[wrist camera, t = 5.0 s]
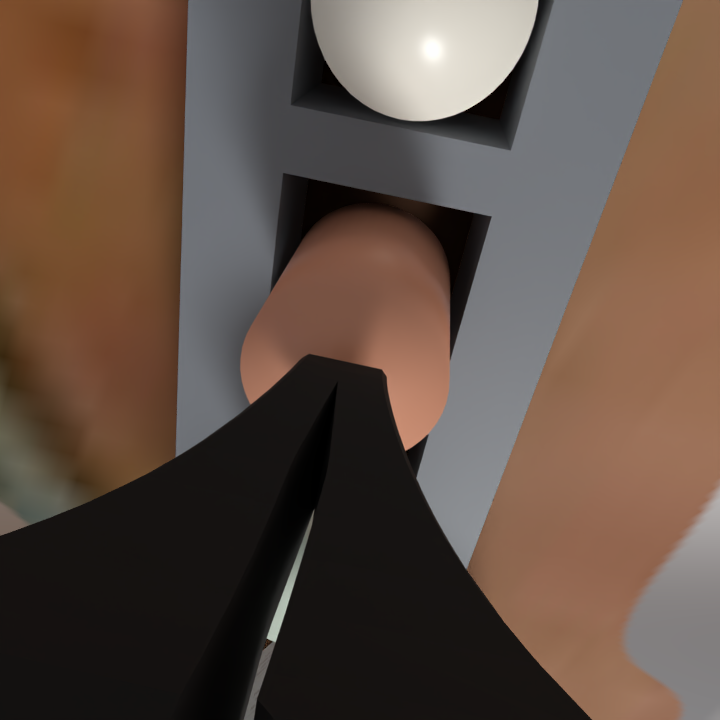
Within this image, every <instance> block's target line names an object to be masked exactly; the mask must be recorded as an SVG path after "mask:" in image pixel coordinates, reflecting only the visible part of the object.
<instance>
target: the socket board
mask: <svg viewBox="0 0 720 720" xmlns="http://www.w3.org/2000/svg"><path fill="white" fill-rule="evenodd" d="M682 1H683V0H538V8H537V13H536V17H535V22H534V26H533V28H532V31H531V34H530V37H529V40H528V42H527V44H526V47H525V49H524V51H523V53H522V55H521V57H520V58H519V60H518V62H517V63H516V65H515V66H514V69H513V72H512V76H511V80H510V83H509V87H508V91H507V94H506V98H505V102H504V105H503V109H502V113H501V116H500V120H499V119H494V118H489V117H484V116H479V115H474V114H469V113H465V112H460V113H458V114H456V115H453V116H449V117H446V118H442V119H437V120H430V121H409V120H401V119H397V118H393V117H390V116H386V115H384V114H382V113H379V112H377V111H375V110H373V109H371V108H369V107H368V106H366V105H364V104H363V103H361V102H360V101H359V100H358V99H356V98H355V97H354V96H353V95H351V94H350V93H349V92H348V91H347V90H346V89H345V88H343V87H338V86H333V85H328V84H324V83H321V82H322V74H323V66H324V56H323V54H322V51H321V49H320V47H319V44H318V41H317V37H316V34H315V31H314V26H313V20H312V14H311V0H188V29H187V65H186V102H185V138H184V174H183V210H182V246H181V282H180V318H179V355H178V391H177V427H176V457H177V456H179V455H181V454H182V453H184V452H185V451H187V450H189V449H190V448H192V447H193V446H195V445H196V444H198V443H199V442H201V441H202V440H204V439H205V438H207V437H208V436H209V435H211V434H212V433H214V432H215V431H216V430H218V429H219V428H221V427H222V426H223V425H225V424H226V423H228V422H229V421H230V420H232V419H233V418H235V417H236V416H237V415H238V414H240V413H241V412H242V411H244V410H245V409H246V408H247V407H248V406H250V405H251V404H250V403H249V400H248V398H247V396H246V393H245V390H244V387H243V383H242V378H241V371H240V358H241V352H242V346H243V343H244V340H245V337H246V335H247V333H248V331H249V329H250V327H251V325H252V323H253V322H254V320H255V318H256V317H257V315H258V313H259V312H260V310H261V308H262V307H263V305H264V303H265V302H266V300H267V298H268V297H269V295H270V293H271V292H272V290H273V288H274V287H275V285H276V283H277V282H278V280H279V278H280V276H281V275H282V273H283V271H284V270H285V268H286V266H287V265H288V263H289V261H290V260H291V258H292V256H293V255H294V253H295V251H296V250H297V248H298V246H299V245H300V243H301V235H302V228H303V220H304V212H305V205H306V197H307V189H308V182H309V178H310V179H315V180H320V181H324V182H329V183H334V184H339V185H343V186H348V187H353V188H358V189H363V190H367V191H372V192H377V193H382V194H387V195H391V196H396V197H401V198H406V199H411V200H415V201H420V202H425V203H430V204H434V205H439V206H444V207H449V208H454V209H458V210H463V211H468V212H473V213H474V215H473V219H472V223H471V226H470V230H469V234H468V237H467V241H466V245H465V248H464V252H463V256H462V259H461V263H460V267H459V270H458V274H457V278H456V281H455V285H454V289H453V292H452V296H451V300H450V381H449V393H448V398H447V402H446V405H445V408H444V410H443V413H442V415H441V417H440V418H439V420H438V422H437V423H436V425H435V426H434V427H433V429H432V430H431V431H430V432H429V433H428V434H427V435H426V436H425V437H424V438H423V439H422V440H421V441H420V442H418V443H417V444H416V445H414V446H413V447H411V448H410V450H409V454H408V459H409V462H410V464H411V467H412V469H413V472H414V474H415V476H416V478H417V481H418V483H419V485H420V487H421V490H422V492H423V494H424V496H425V498H426V500H427V502H428V504H429V506H430V508H431V510H432V512H433V514H434V516H435V518H436V520H437V521H438V523H439V525H440V527H441V528H442V530H443V532H444V534H445V536H446V537H447V539H448V541H449V543H450V544H451V546H452V547H453V549H454V551H455V552H456V554H457V555H458V557H459V559H460V560H461V562H462V563H463V565H464V567H465V568H466V569H467V567H468V564H469V562H470V559H471V556H472V554H473V551H474V548H475V546H476V543H477V541H478V538H479V535H480V533H481V530H482V527H483V525H484V522H485V519H486V517H487V514H488V512H489V509H490V506H491V504H492V501H493V498H494V496H495V493H496V491H497V488H498V485H499V483H500V480H501V477H502V475H503V472H504V470H505V467H506V464H507V462H508V459H509V456H510V454H511V451H512V448H513V446H514V443H515V441H516V438H517V435H518V433H519V430H520V427H521V425H522V422H523V420H524V417H525V414H526V412H527V409H528V406H529V404H530V401H531V399H532V396H533V393H534V391H535V388H536V385H537V383H538V380H539V377H540V375H541V372H542V370H543V367H544V364H545V362H546V359H547V356H548V354H549V351H550V349H551V346H552V343H553V341H554V338H555V335H556V333H557V330H558V328H559V325H560V322H561V320H562V317H563V314H564V312H565V309H566V306H567V304H568V301H569V299H570V296H571V293H572V291H573V288H574V285H575V283H576V280H577V278H578V275H579V272H580V270H581V267H582V264H583V262H584V259H585V257H586V254H587V251H588V249H589V246H590V243H591V241H592V238H593V235H594V233H595V230H596V228H597V225H598V222H599V220H600V217H601V214H602V212H603V209H604V207H605V204H606V201H607V199H608V196H609V193H610V191H611V188H612V186H613V183H614V180H615V178H616V175H617V172H618V170H619V167H620V164H621V162H622V159H623V157H624V154H625V151H626V149H627V146H628V143H629V141H630V138H631V136H632V133H633V130H634V128H635V125H636V122H637V120H638V117H639V115H640V112H641V109H642V107H643V104H644V101H645V99H646V96H647V93H648V91H649V88H650V86H651V83H652V80H653V78H654V75H655V72H656V70H657V67H658V65H659V62H660V59H661V57H662V54H663V51H664V49H665V46H666V44H667V41H668V38H669V36H670V33H671V30H672V28H673V25H674V22H675V20H676V17H677V15H678V12H679V9H680V7H681V4H682Z"/></svg>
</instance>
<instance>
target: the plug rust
mask: <svg viewBox="0 0 720 720" xmlns="http://www.w3.org/2000/svg"><path fill="white" fill-rule="evenodd" d="M308 354H313V355H318V356H322V357H327V358H332V359H336V360H341V361H345V362H350V363H355V364H359V365H364V366H369V367H373V368H378V369H382V370H383V372H384V373H385V375H386V376H387V387H388V393H389V398H390V403H391V407H392V411H393V415H394V418H395V422H396V425H397V428H398V431H399V434H400V437H401V440H402V443H403V446H404V448H405V451H406V450H408V449H410V448H411V447H413V446H414V445H416V444H417V443H418V442H420V441H421V440H422V439H423V438H424V437H425V436H426V435H427V434H428V433H429V432H430V431H431V430H432V429H433V427H434V426H435V425H436V423H437V422H438V420H439V418H440V417H441V415H442V413H443V410H444V408H445V405H446V402H447V398H448V393H449V381H450V269H449V264H448V260H447V257H446V254H445V252H444V249H443V247H442V245H441V244H440V242H439V240H438V239H437V237H436V236H435V235H434V233H433V232H432V231H431V230H430V229H429V228H428V227H427V226H426V225H425V224H424V223H423V222H422V221H420V220H419V219H418V218H416V217H415V216H413V215H411V214H410V213H408V212H406V211H404V210H402V209H399V208H397V207H393V206H390V205H386V204H379V203H359V204H352V205H348V206H344V207H341V208H339V209H337V210H334V211H332V212H331V213H329V214H327V215H325V216H324V217H323V218H321V219H320V220H319V221H317V222H316V223H315V224H314V225H313V226H312V227H311V229H310V230H309V231H308V232H307V234H306V235H305V237H304V238H303V240H302V241H301V243H300V245H299V246H298V248H297V250H296V251H295V253H294V255H293V256H292V258H291V260H290V261H289V263H288V265H287V266H286V268H285V270H284V271H283V273H282V275H281V276H280V278H279V280H278V282H277V283H276V285H275V287H274V288H273V290H272V292H271V293H270V295H269V297H268V298H267V300H266V302H265V303H264V305H263V307H262V308H261V310H260V312H259V313H258V315H257V317H256V318H255V320H254V322H253V323H252V325H251V327H250V329H249V331H248V333H247V335H246V337H245V340H244V343H243V346H242V352H241V358H240V371H241V378H242V383H243V387H244V390H245V393H246V396H247V398H248V400H249V403H250V404H252V403H253V402H254V401H256V400H257V399H258V398H259V397H261V396H262V395H263V394H264V393H265V392H267V391H268V390H269V389H270V388H271V387H272V386H273V385H274V384H276V383H277V382H278V381H279V380H280V379H281V378H282V377H283V376H284V375H285V374H286V373H287V372H288V371H289V370H290V369H291V368H292V367H293V366H294V365H295V364H296V363H297V362H298V361H299V360H300V359H301V358H303V357H304V356H306V355H308Z"/></svg>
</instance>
